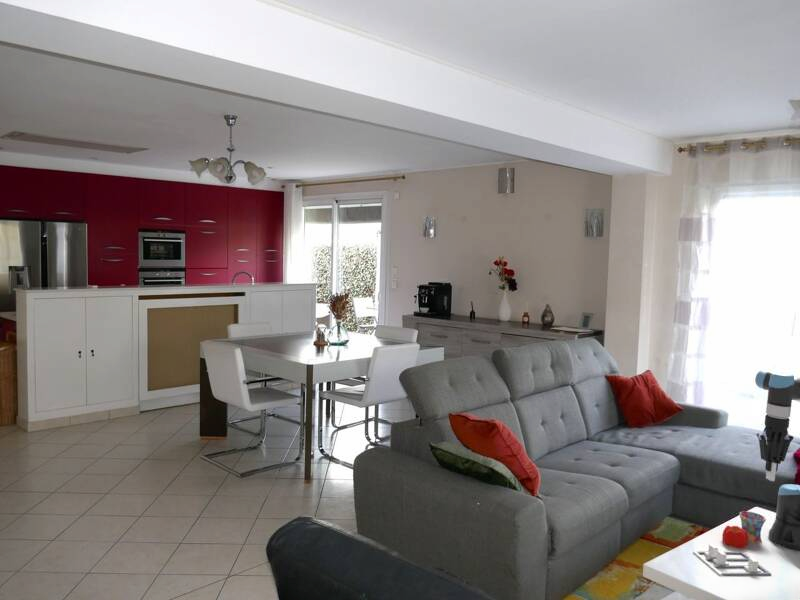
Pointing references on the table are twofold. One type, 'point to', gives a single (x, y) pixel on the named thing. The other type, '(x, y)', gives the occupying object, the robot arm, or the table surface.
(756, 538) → the mug
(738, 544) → the tomato
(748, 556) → the switch bank
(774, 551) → the table surface
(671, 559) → the table surface
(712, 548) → the tab
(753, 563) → the tab
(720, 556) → the tab
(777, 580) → the table surface
